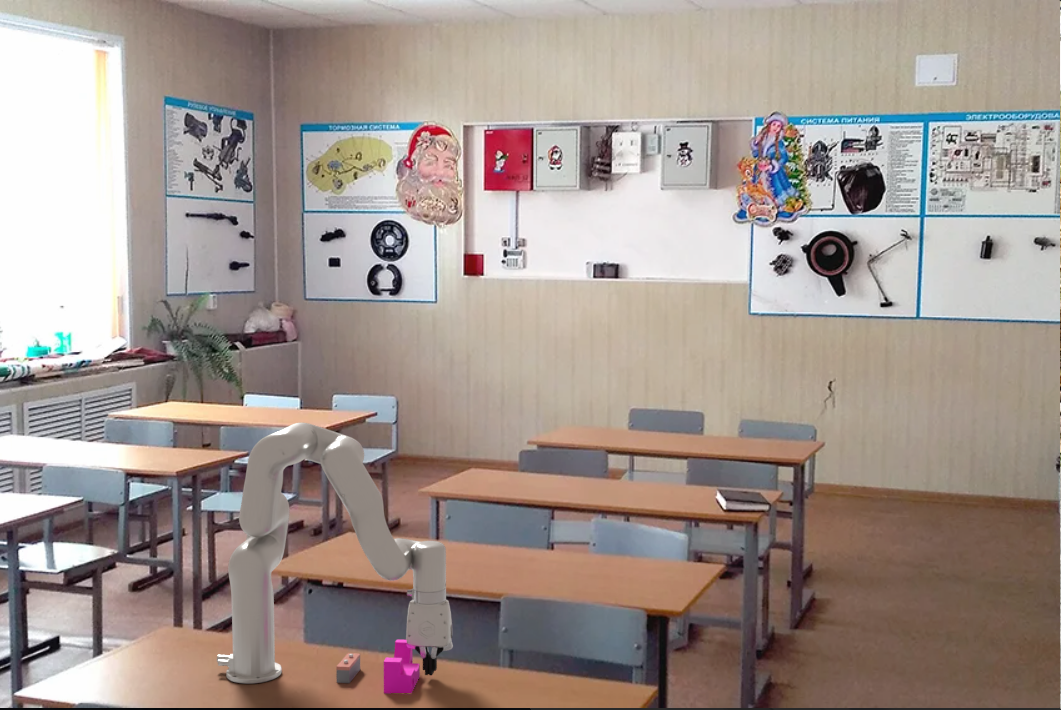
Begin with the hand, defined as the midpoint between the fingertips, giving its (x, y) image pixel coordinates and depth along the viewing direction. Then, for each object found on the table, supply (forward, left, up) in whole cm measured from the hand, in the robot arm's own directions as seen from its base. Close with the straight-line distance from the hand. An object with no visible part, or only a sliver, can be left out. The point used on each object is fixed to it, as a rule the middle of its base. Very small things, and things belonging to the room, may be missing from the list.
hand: (429, 673), depth 268 cm
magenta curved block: (-6, -2, -2) cm, 6 cm away
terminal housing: (-19, 0, -2) cm, 19 cm away
